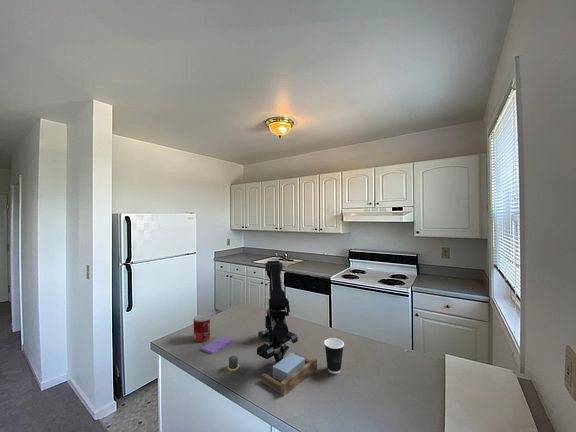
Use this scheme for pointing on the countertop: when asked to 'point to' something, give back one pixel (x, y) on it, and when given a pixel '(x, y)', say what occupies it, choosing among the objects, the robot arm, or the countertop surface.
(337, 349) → the dixie cup
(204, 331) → the canned food
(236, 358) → the bollards
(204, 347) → the sponges
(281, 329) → the robot arm
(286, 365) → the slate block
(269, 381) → the bay
